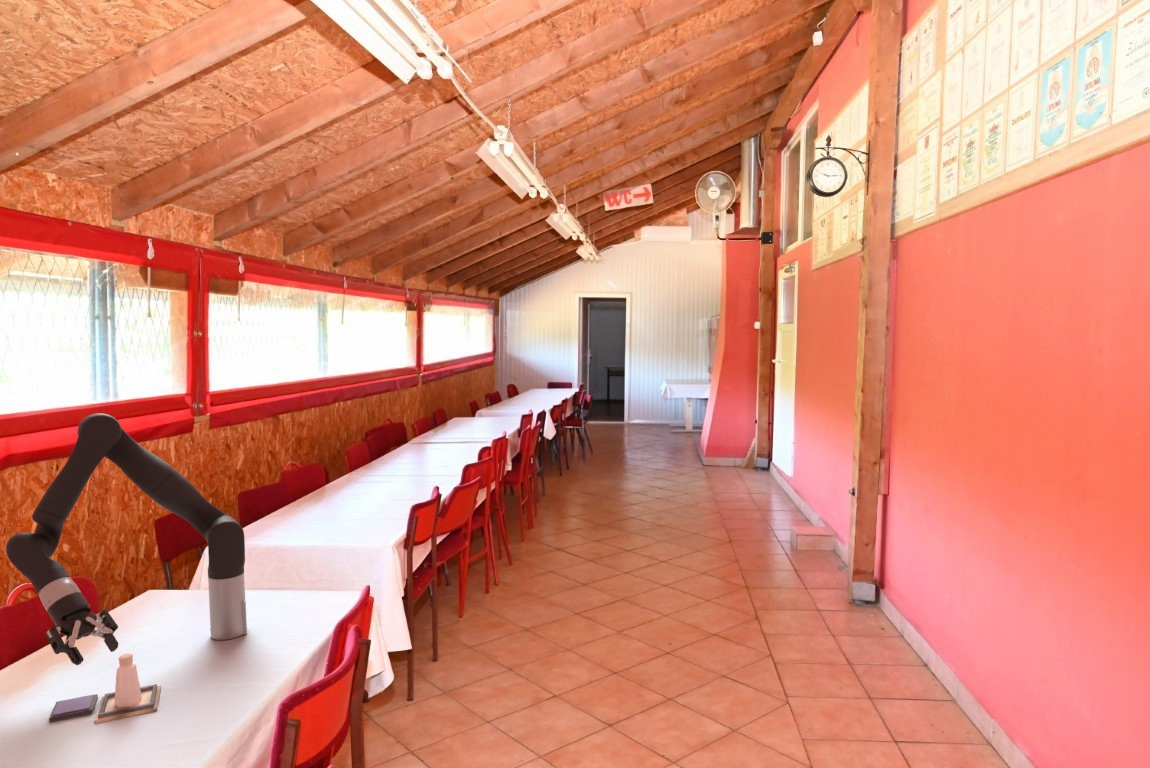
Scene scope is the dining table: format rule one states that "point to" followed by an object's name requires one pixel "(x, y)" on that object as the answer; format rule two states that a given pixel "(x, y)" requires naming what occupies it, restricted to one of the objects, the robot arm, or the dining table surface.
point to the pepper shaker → (127, 683)
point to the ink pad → (73, 708)
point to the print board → (113, 712)
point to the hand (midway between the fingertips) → (98, 656)
